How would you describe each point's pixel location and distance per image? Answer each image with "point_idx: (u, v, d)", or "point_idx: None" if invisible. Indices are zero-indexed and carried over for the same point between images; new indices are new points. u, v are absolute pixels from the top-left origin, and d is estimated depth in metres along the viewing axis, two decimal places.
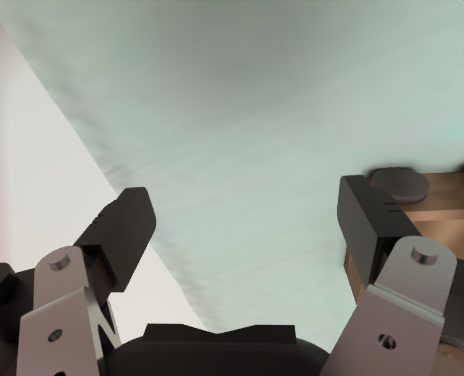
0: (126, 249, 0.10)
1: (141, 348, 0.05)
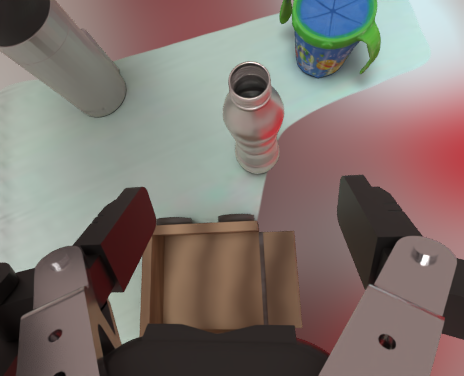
0: (126, 249, 0.10)
1: (141, 348, 0.05)
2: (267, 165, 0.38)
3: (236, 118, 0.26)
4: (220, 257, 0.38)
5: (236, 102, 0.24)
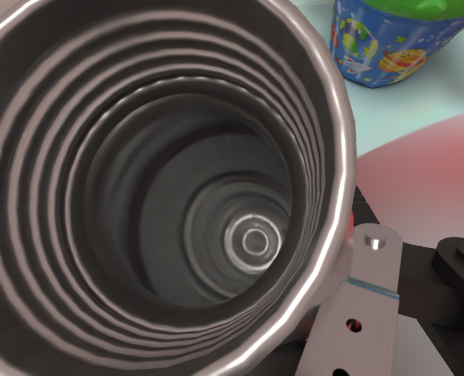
0: None
1: None
2: None
3: None
4: None
5: None
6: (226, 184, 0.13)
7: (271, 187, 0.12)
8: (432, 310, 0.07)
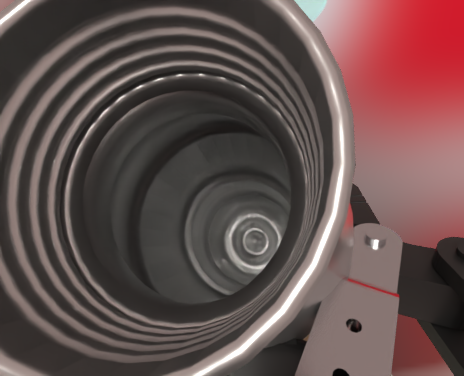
0: None
1: None
2: None
3: None
4: None
5: None
6: (226, 183, 0.13)
7: (271, 186, 0.12)
8: (432, 310, 0.07)
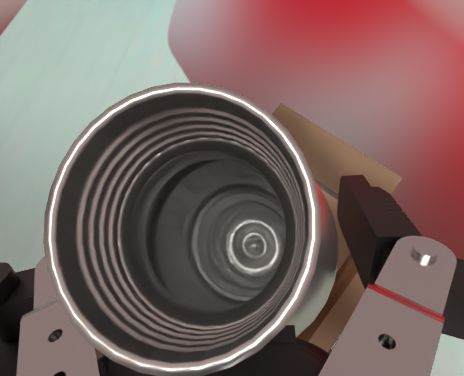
0: None
1: None
2: None
3: None
4: None
5: None
6: (229, 196, 0.14)
7: (270, 199, 0.14)
8: None
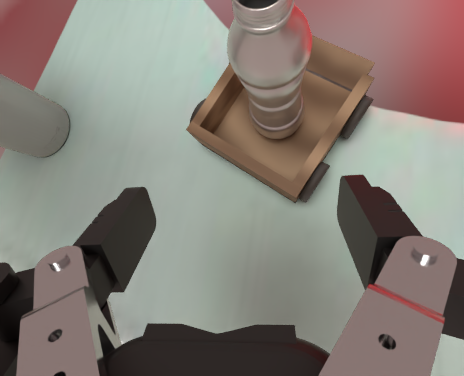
0: (126, 249, 0.10)
1: (141, 348, 0.05)
2: (291, 126, 0.30)
3: (246, 52, 0.19)
4: None
5: (243, 22, 0.16)
6: None
7: None
8: None
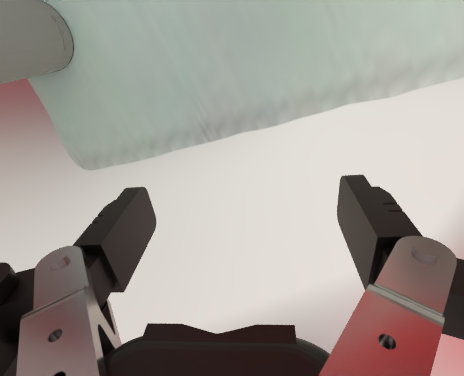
0: (126, 249, 0.10)
1: (141, 348, 0.05)
2: None
3: None
4: None
5: None
6: None
7: None
8: None
